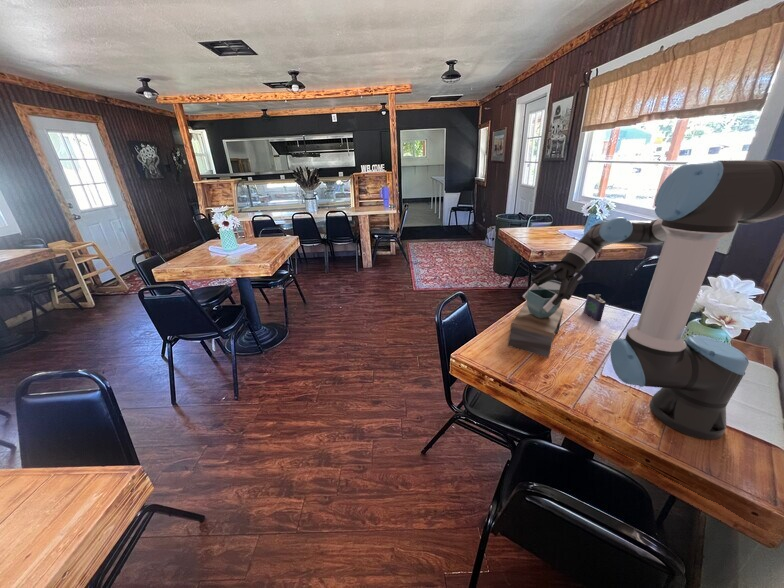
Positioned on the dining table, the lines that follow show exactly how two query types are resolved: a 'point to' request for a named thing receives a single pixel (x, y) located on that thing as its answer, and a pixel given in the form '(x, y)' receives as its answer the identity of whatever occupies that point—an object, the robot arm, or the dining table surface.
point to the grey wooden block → (534, 331)
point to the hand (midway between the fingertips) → (534, 303)
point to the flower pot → (540, 302)
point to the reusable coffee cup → (551, 286)
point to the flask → (594, 307)
